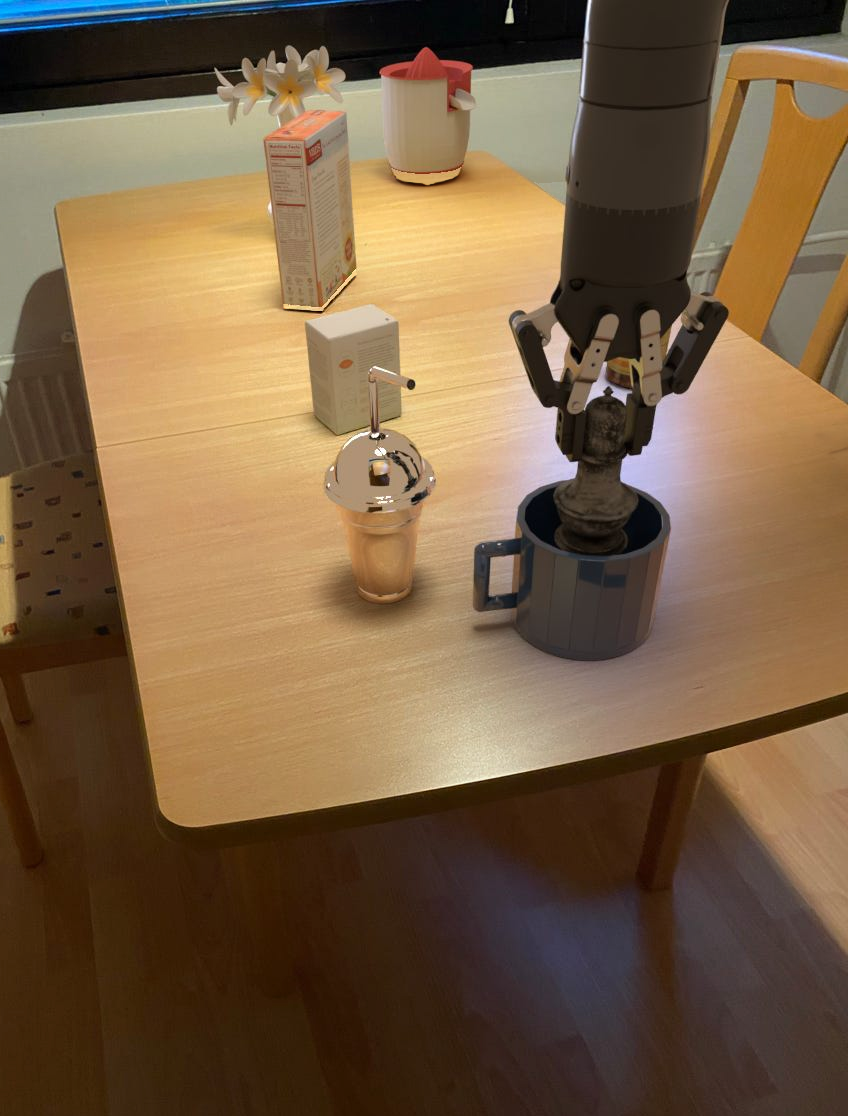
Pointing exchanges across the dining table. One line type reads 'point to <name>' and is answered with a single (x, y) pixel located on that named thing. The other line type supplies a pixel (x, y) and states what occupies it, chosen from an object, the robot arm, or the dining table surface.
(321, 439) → the dining table surface
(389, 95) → the citrus juicer
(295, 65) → the flower vase
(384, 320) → the small box
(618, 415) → the salt shaker
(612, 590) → the mug
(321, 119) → the cracker box
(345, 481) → the cup with straw
